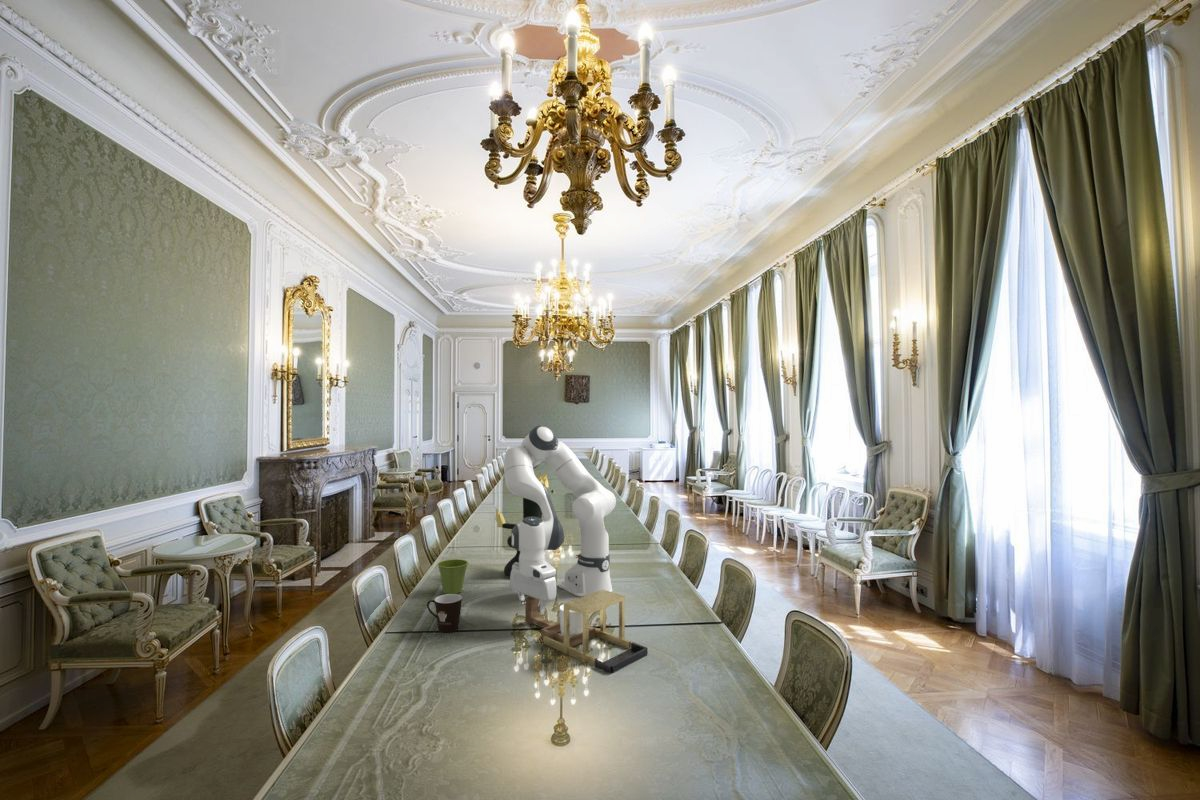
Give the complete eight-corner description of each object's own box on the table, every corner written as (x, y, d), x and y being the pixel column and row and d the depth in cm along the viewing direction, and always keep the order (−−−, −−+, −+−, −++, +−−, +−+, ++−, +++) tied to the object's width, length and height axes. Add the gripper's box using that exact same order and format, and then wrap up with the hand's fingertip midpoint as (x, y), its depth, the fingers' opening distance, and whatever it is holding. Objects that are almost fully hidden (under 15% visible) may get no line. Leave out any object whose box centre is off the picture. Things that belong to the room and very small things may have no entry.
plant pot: (473, 593, 215) (473, 564, 215) (442, 599, 209) (443, 569, 209) (462, 585, 225) (462, 557, 225) (432, 590, 218) (433, 561, 219)
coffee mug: (467, 629, 181) (467, 598, 181) (443, 637, 175) (443, 605, 175) (447, 619, 189) (447, 590, 189) (424, 627, 183) (424, 596, 183)
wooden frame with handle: (514, 625, 183) (514, 601, 183) (542, 615, 192) (542, 592, 192) (567, 648, 166) (567, 621, 166) (595, 636, 175) (595, 611, 175)
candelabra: (529, 564, 254) (529, 466, 254) (560, 575, 238) (561, 470, 238) (493, 573, 240) (494, 469, 241) (525, 585, 225) (525, 473, 225)
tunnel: (542, 644, 170) (542, 595, 170) (581, 627, 182) (581, 582, 183) (610, 674, 151) (610, 620, 151) (649, 654, 163) (649, 603, 164)
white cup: (564, 646, 168) (564, 613, 168) (555, 636, 175) (555, 604, 176) (588, 642, 172) (588, 609, 172) (578, 632, 179) (578, 601, 179)
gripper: (505, 562, 191) (505, 603, 191) (545, 575, 177) (545, 618, 177) (519, 559, 196) (519, 598, 196) (559, 570, 182) (559, 613, 182)
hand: (532, 608), depth 186 cm, fingers open, 8 cm apart
